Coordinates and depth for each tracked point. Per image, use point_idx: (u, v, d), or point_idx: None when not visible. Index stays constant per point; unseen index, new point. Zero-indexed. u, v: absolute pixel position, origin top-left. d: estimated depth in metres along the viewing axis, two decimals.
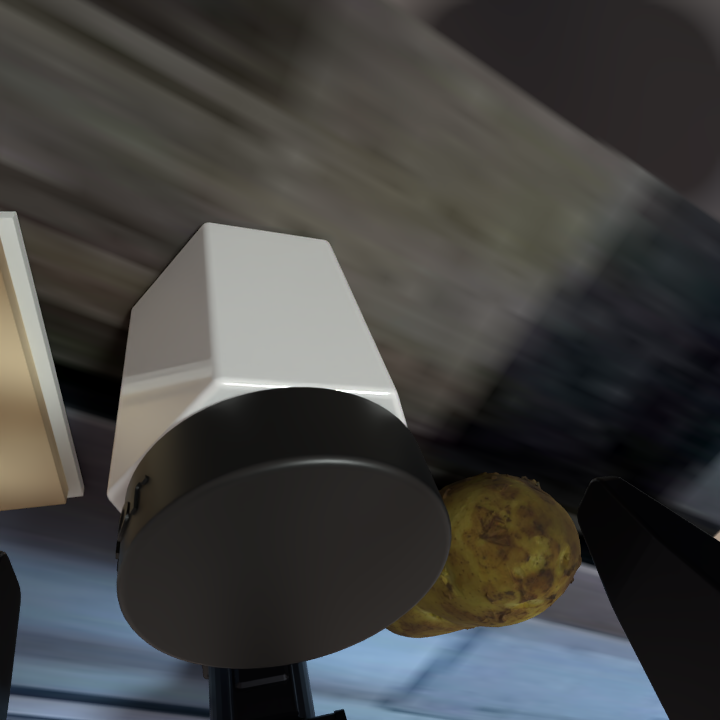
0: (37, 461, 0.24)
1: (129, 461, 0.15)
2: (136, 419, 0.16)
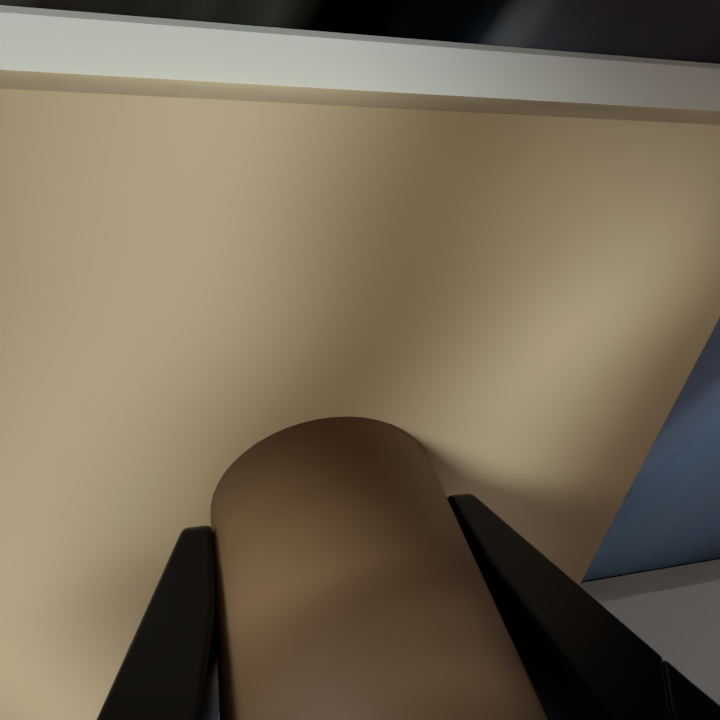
0: (625, 171, 0.07)
1: None
2: None
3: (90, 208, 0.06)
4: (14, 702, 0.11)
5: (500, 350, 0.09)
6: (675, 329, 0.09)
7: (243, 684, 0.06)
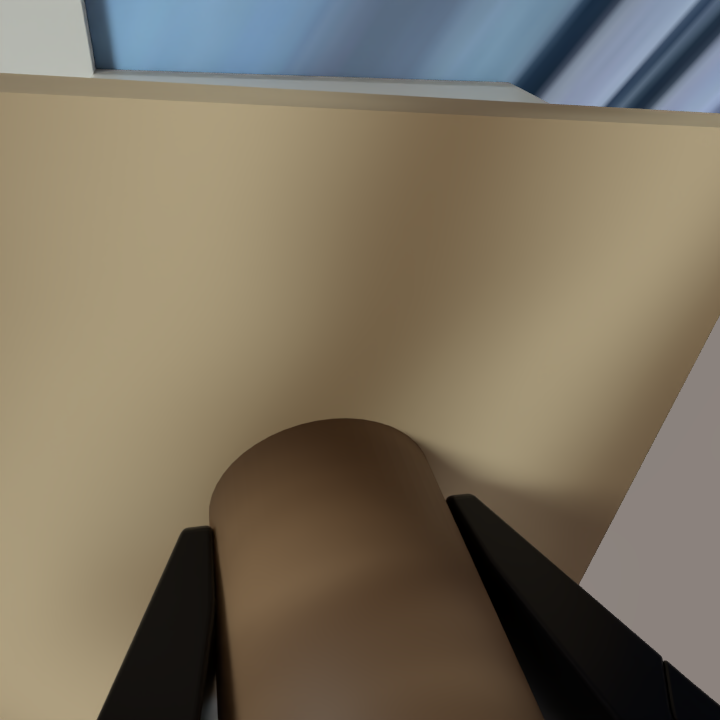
0: (623, 174, 0.07)
1: None
2: None
3: (90, 212, 0.06)
4: (13, 703, 0.11)
5: (499, 351, 0.09)
6: (673, 331, 0.09)
7: (241, 686, 0.06)
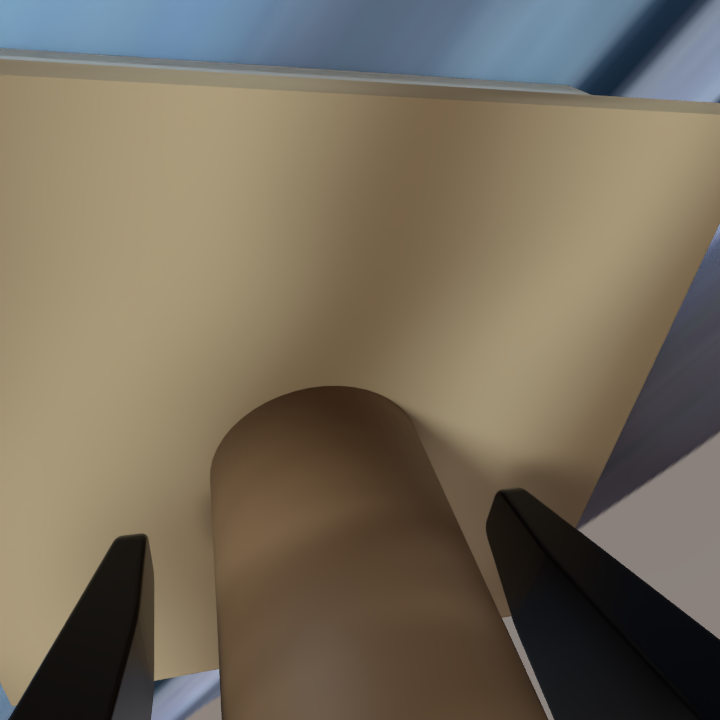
0: (591, 155, 0.08)
1: None
2: None
3: (102, 186, 0.07)
4: (24, 661, 0.11)
5: (479, 323, 0.09)
6: (644, 305, 0.10)
7: (239, 618, 0.07)
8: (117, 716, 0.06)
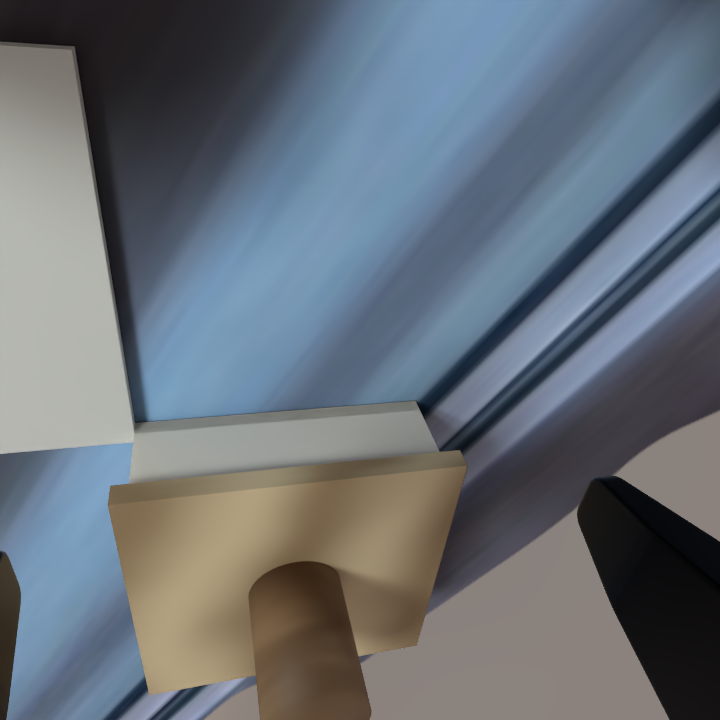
0: (395, 485, 0.21)
1: None
2: None
3: (217, 516, 0.20)
4: (159, 674, 0.24)
5: (360, 536, 0.22)
6: (434, 522, 0.23)
7: (264, 662, 0.20)
8: None
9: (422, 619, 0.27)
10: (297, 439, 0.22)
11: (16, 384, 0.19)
